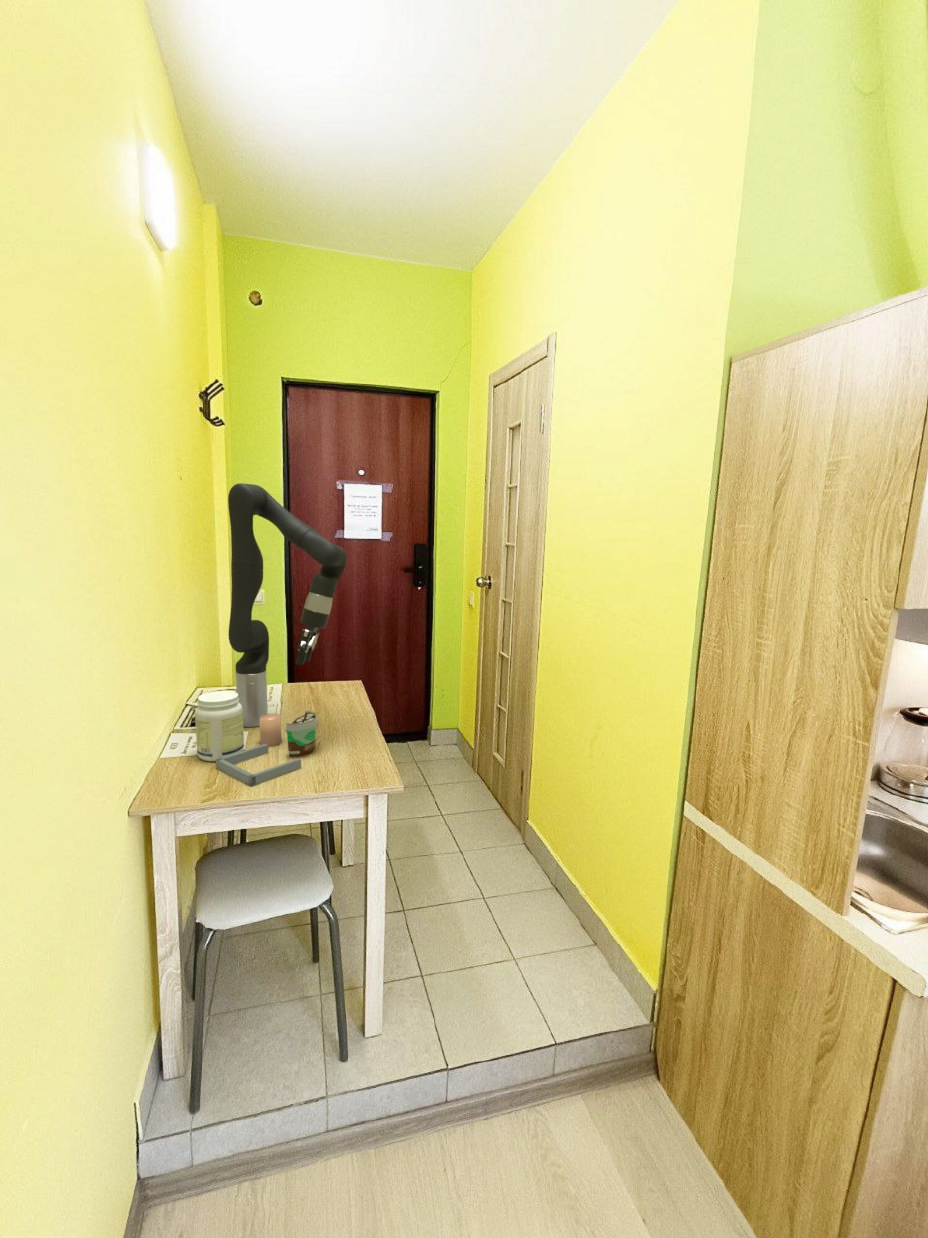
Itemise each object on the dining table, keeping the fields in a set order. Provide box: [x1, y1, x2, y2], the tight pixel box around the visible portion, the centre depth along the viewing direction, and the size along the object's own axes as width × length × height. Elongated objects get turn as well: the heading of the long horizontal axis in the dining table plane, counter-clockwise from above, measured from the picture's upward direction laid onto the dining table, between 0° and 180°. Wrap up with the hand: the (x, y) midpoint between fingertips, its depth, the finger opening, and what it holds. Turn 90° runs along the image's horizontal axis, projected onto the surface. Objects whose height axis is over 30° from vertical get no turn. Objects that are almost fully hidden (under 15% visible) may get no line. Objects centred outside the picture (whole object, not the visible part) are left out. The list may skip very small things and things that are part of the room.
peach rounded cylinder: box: [259, 713, 283, 748], centre depth 172 cm, size 6×6×8 cm
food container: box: [285, 710, 319, 758], centre depth 166 cm, size 12×6×10 cm, turn 168°
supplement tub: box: [194, 690, 245, 762], centre depth 162 cm, size 12×12×17 cm
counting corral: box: [215, 744, 302, 787], centre depth 155 cm, size 16×15×2 cm
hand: (302, 662), depth 172 cm, fingers open, 8 cm apart
